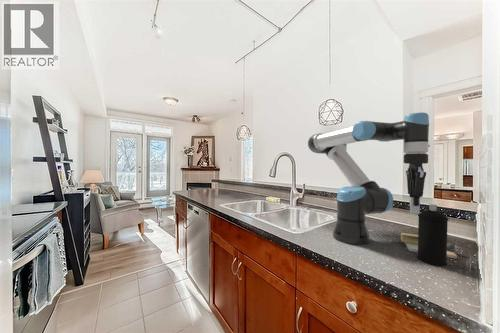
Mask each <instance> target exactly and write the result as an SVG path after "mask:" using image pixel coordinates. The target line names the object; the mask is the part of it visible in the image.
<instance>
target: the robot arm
mask: <svg viewBox="0 0 500 333" xmlns="http://www.w3.org/2000/svg"><path fill="white" fill-rule="evenodd" d="M429 119H430V116H429V114H428V113H427V112H421V111H420V112H414V113H413V112H412V113H408V114H406V115H404V118H403V120H402V121H397V122H381V121H371V120H360V121H357V122H355V124H354V125H352V126H348V127H344V128H340V129H337V130H333V131H329V132H326V133H321V132H319V133H316V134H313V135H311V136H310V137H309V139H308V141H307V147H308V149H309V150H310V151H311V152H313V153H315V154H324V155H326V157H327V158H328V159H329V160H332V161H333V162H334V163H335V164H336V166H337V167H338V169H339V170H340V172H341V173H342V174H343V176H344V177H345V179H346V180H347V181H348V183H349V184H350V185H351V186H343V187H341V188H338V191H337V196H336V209H337V210H336V222H335V224H334V227H333V230H332V237H333V238H334V240H337V241H338V242H339V241H340V242H342V243H345V244H351V245H352V244H353V245H366V244H369V243H370V239H371V238H370V234H369V230H368V227H367V225H366V215H373V214H383V213H386V212H389V211H390V210H391V209H392V208H393V205H394V197H393V196H394V195H393V194H392V192H391V191H390V190H389V189H387V188H384V187H380V186H379V184H378V183H377V182H376V181H375V180H370V179H369V177H368V176H367V174H366V173H364V171H363V170H362V168H361V167H360V166H359V165H358V163H357V162H356V161H355V160H354V159H353V157H351V155H350V154H349V153H348V151H347V149H348V148H347V146H348V145H349V144H352V143H359V142H365V141H378V142H388V143H389V142H392V141H400V140H401V141H402V140H403V153H404V155H403V163H404V164H408V168H407V170H405V174H406V180H407V181H406V184H407V194H408V195H409V214H411V215H418V214H420V213H421V210H420V208H421V206H420V205H421V197H422V198H423V196H424V188H425V181H426V180H425V179H426V176H427V172H426V171H425V170H424V166H423V164H428V163H429V154H428V152H429V147H430V146H431V144H429V132H430V131H429V130H430V129H429V128H430V120H429ZM347 144H348V145H347Z"/></svg>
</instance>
